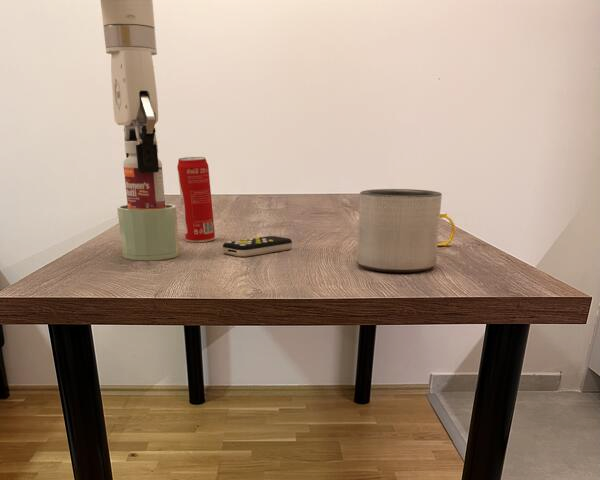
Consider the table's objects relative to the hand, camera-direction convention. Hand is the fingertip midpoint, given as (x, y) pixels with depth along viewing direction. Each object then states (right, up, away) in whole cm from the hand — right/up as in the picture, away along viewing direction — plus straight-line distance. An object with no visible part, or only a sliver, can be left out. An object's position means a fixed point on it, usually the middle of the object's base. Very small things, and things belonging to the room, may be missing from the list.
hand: (142, 170), depth 104 cm
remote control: (+18, -11, +10) cm, 23 cm away
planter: (+41, -17, -2) cm, 44 cm away
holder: (0, -12, +6) cm, 14 cm away
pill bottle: (0, -6, +3) cm, 7 cm away
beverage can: (+6, -5, +21) cm, 22 cm away
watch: (+52, -8, +16) cm, 55 cm away
